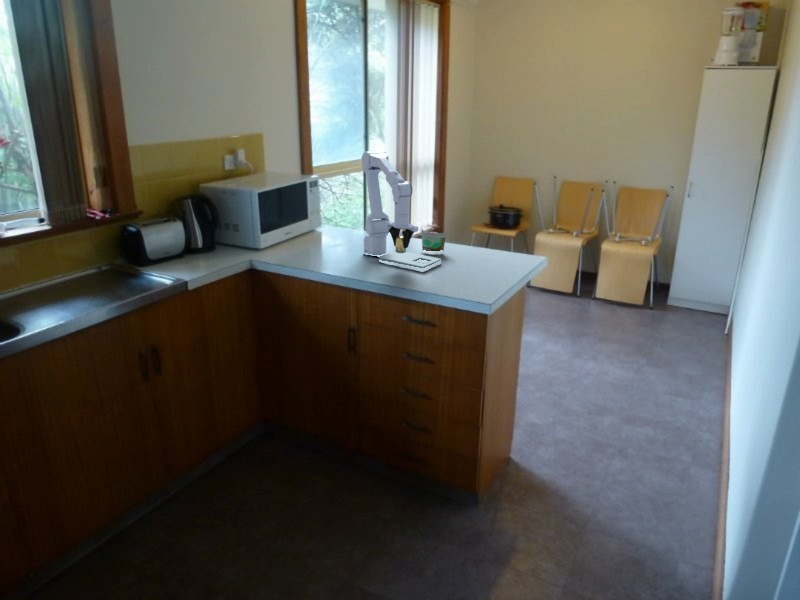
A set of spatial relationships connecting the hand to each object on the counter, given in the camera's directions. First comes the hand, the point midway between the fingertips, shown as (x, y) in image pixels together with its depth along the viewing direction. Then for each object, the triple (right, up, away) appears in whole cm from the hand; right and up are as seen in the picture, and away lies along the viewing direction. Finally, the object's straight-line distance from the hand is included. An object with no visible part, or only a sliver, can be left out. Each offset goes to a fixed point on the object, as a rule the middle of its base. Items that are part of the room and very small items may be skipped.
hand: (401, 246), depth 237 cm
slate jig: (+4, -6, +9) cm, 11 cm away
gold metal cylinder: (0, -2, +1) cm, 2 cm away
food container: (+13, -1, +23) cm, 27 cm away
